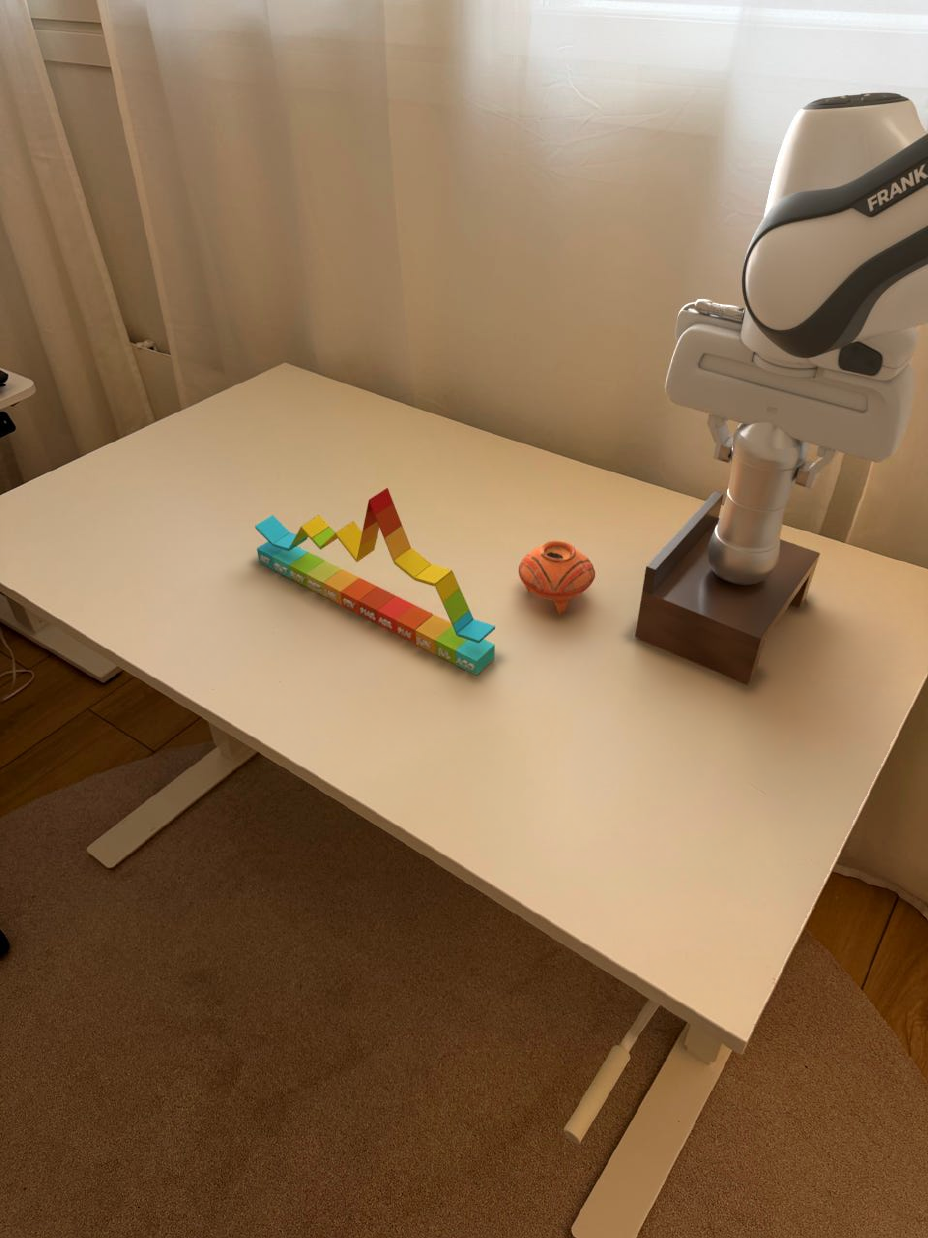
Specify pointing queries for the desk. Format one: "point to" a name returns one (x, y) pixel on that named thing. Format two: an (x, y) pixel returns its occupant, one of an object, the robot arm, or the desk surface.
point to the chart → (409, 621)
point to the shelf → (717, 600)
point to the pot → (556, 572)
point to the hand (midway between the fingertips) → (764, 471)
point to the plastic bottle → (755, 502)
